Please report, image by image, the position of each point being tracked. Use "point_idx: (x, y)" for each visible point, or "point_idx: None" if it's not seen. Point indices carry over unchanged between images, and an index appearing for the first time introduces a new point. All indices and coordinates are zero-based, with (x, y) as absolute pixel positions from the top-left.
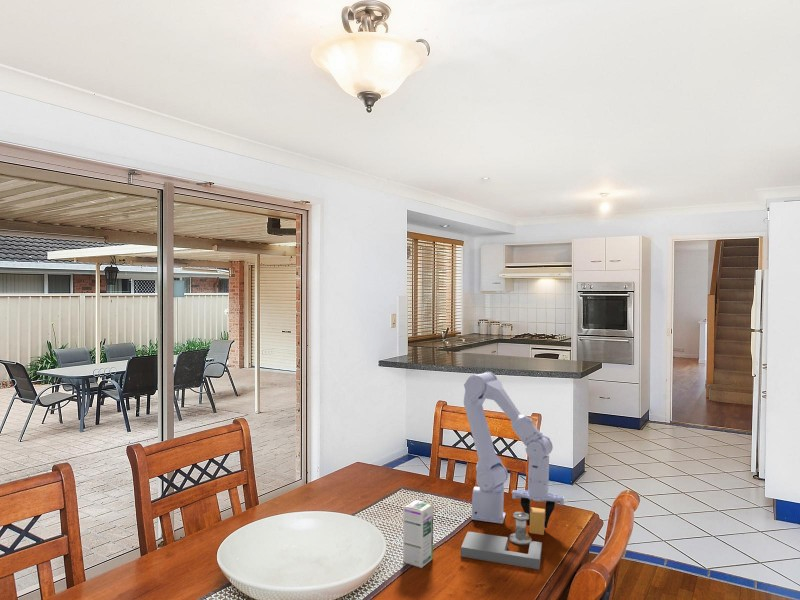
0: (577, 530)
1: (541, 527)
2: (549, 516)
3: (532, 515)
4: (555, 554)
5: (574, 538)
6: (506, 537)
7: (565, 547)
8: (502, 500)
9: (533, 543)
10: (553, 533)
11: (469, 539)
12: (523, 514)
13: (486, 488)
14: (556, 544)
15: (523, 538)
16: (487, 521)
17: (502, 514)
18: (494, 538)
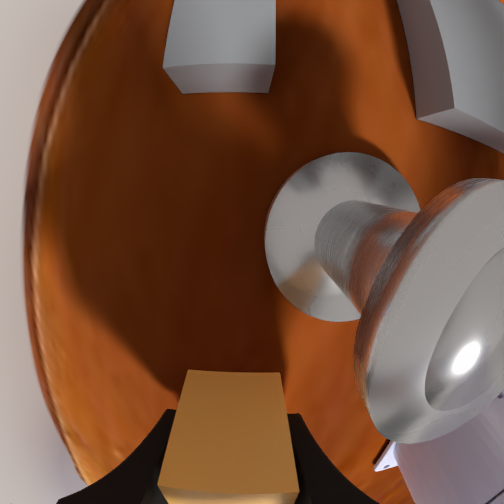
0: (68, 419)
1: (196, 402)
2: (120, 465)
3: (272, 472)
4: (97, 101)
5: (46, 352)
6: (460, 107)
7: (50, 230)
8: (436, 494)
9: (242, 25)
10: (140, 393)
11: None
12: (460, 372)
13: None
14: (94, 255)
15: (335, 207)
16: None
17: (408, 447)
18: (500, 92)
